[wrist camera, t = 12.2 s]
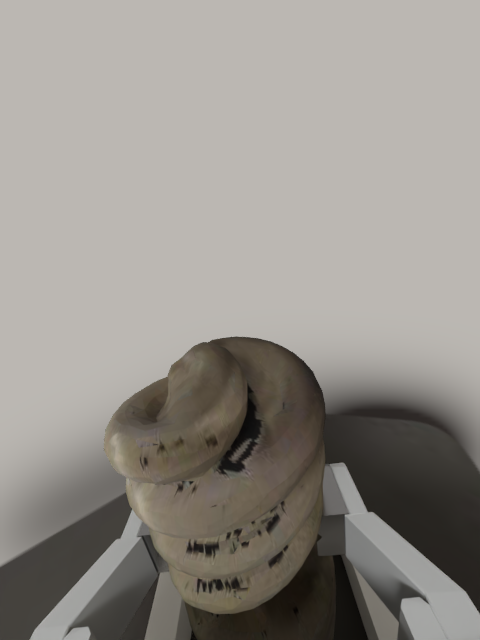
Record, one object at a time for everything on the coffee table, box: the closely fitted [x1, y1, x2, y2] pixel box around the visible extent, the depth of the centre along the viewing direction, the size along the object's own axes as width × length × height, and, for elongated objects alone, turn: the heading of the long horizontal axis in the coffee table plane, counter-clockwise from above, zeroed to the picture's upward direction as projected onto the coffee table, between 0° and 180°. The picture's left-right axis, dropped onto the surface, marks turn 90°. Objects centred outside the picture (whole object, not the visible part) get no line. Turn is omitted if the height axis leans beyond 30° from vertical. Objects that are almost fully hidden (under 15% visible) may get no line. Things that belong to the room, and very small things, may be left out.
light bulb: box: [104, 337, 336, 640], centre depth 8 cm, size 6×6×15 cm
